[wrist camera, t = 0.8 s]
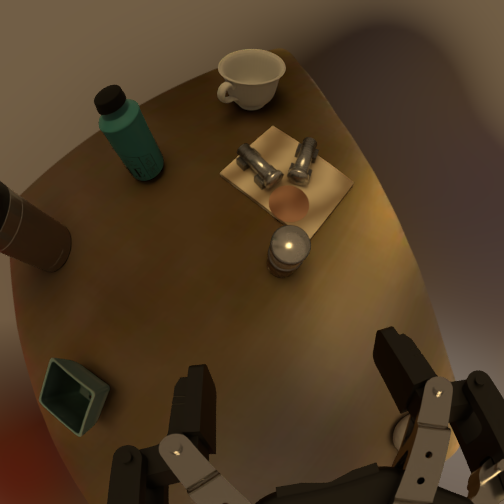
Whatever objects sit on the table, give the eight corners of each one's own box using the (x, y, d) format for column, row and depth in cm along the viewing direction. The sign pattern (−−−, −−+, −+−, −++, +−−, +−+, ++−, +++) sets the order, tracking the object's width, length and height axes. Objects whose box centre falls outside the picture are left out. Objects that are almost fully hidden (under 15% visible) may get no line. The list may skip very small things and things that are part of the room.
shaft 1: (282, 182, 44) (285, 169, 40) (265, 194, 43) (267, 182, 39) (251, 151, 45) (251, 137, 42) (234, 162, 45) (233, 148, 41)
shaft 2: (305, 189, 44) (310, 177, 40) (284, 181, 44) (287, 169, 40) (317, 153, 46) (322, 139, 42) (298, 146, 46) (301, 132, 42)
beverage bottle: (168, 153, 46) (135, 71, 27) (165, 184, 45) (123, 104, 25) (136, 158, 46) (92, 83, 27) (131, 189, 45) (78, 116, 25)
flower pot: (82, 353, 37) (50, 355, 28) (123, 382, 36) (95, 393, 27) (69, 393, 35) (37, 401, 26) (107, 422, 34) (80, 438, 25)
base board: (219, 177, 45) (219, 173, 44) (272, 129, 48) (272, 125, 47) (306, 244, 42) (307, 241, 41) (352, 185, 45) (354, 182, 44)
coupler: (259, 264, 41) (262, 245, 32) (279, 241, 42) (287, 216, 33) (283, 285, 40) (294, 271, 31) (303, 261, 41) (318, 241, 32)
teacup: (199, 114, 49) (192, 77, 39) (246, 77, 52) (245, 42, 43) (248, 140, 47) (248, 101, 38) (292, 99, 50) (298, 63, 41)
